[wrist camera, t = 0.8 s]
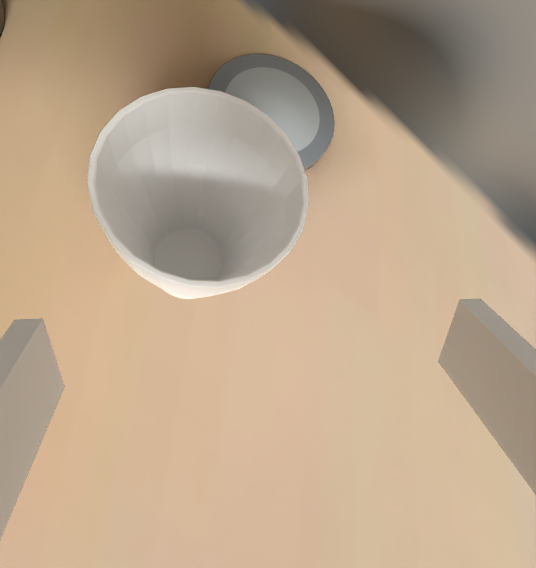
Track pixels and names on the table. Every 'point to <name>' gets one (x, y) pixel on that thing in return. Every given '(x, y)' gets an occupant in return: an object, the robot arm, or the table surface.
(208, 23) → the table surface
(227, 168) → the cup
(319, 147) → the plate
